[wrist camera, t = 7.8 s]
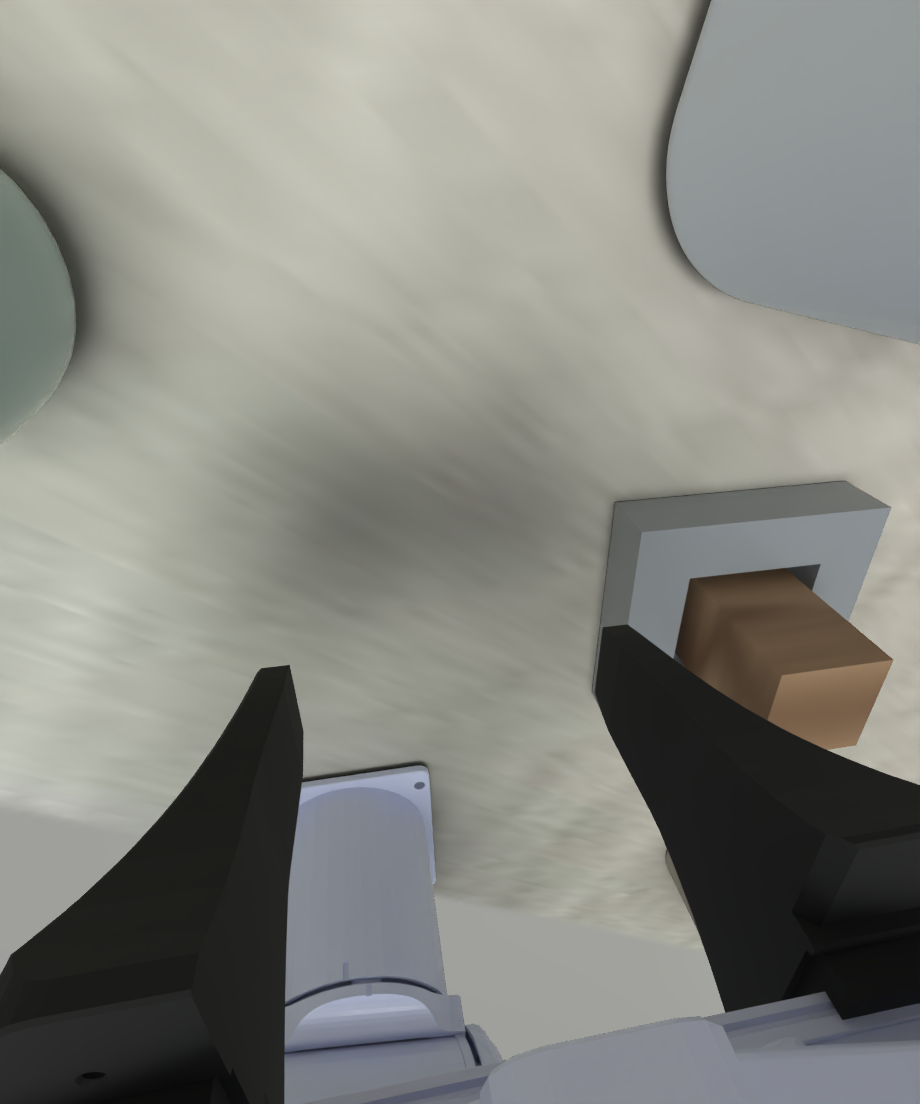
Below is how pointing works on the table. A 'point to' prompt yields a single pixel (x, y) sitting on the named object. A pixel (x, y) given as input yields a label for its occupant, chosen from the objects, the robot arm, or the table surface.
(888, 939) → the robot arm
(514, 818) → the table surface
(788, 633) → the wooden rectangular block
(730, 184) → the plastic bottle
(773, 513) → the grey flat square frame
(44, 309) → the cup
